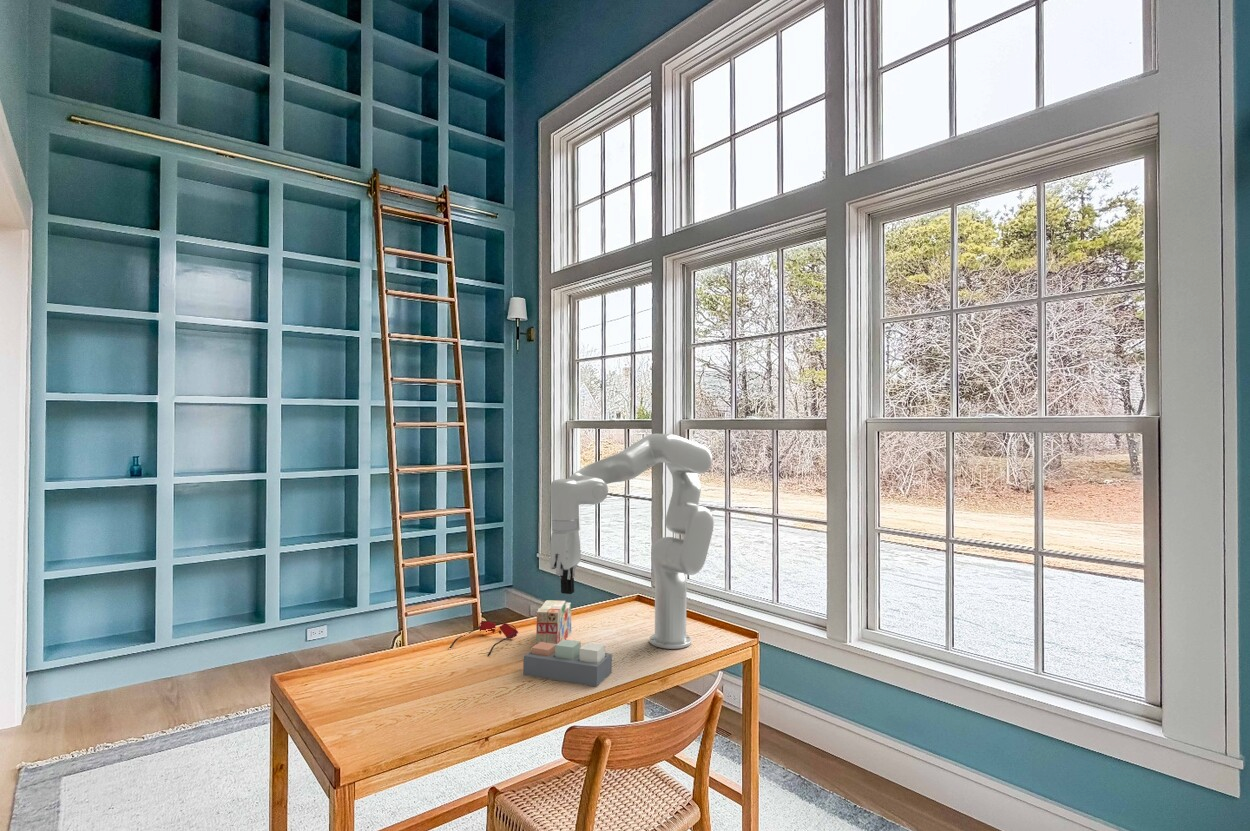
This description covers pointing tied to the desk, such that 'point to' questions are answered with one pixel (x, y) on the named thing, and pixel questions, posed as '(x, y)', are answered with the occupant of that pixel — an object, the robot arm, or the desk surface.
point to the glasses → (505, 628)
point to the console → (567, 669)
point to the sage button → (567, 649)
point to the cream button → (592, 653)
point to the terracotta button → (543, 649)
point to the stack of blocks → (553, 621)
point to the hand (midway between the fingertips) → (567, 592)
